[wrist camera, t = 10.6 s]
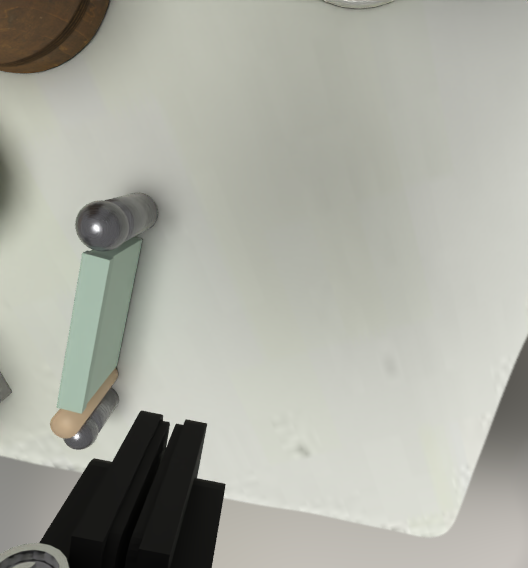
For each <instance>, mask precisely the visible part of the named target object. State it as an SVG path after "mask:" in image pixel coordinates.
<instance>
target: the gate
mask: <svg viewBox="0 0 528 568" xmlns="http://www.w3.org/2000/svg"><path fill="white" fill-rule="evenodd" d="M141 244H142V239H140V238H137V237H133V238H131V239H129V240H127V241H125V242H123V243H122V244H121V245H120V246H119V247H118V248H116V249H113V250H111V251H96V250H91V251H86V252H83V253H82V259H81V265H80V271H79V277H78V282H77V288H76V294H75V300H74V306H73V312H72V318H71V324H70V330H69V336H68V342H67V348H66V354H65V360H64V366H63V372H62V378H61V384H60V390H59V396H58V402H57V408H60V410H59V411H58V412H57V413H56V414H55V415H54V416H53V418H52V419H51V422H50V426H51V429H52V431H53V432H54V433H55V434H56V435H57V436H59V437H61V438H71V437H73V436H75V435H76V434H77V432H78V431H79V430H80V428H81V427H82V426H83V424H84V423H85V421H86V420H87V419H88V417H89V416H90V415H91V413H92V412H93V411H94V409H95V408H96V407H97V405H98V404H99V403H100V401H101V400H102V398H103V397H104V396H105V394H106V393H107V392H108V390H109V389H110V388H111V386H112V385H113V384H114V382H115V381H116V379H117V377H118V372H117V369H116V368H115V367H116V366H117V363H118V358H119V353H120V348H121V343H122V338H123V333H124V328H125V323H126V318H127V313H128V309H129V304H130V299H131V294H132V289H133V284H134V279H135V274H136V269H137V264H138V259H139V254H140V249H141Z"/></svg>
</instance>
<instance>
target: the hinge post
mask: <svg viewBox="0 0 528 568" xmlns="http://www.w3.org/2000/svg"><path fill="white" fill-rule="evenodd" d="M157 217H158V209H157V206H156V204H155V202H154V201H153V200H152V198H150V197H149V196H148V195H145V194H143V193H133V194H129V195H125V196H121V197H117V198H113V199H109V200H105V201H94V202H91V203H89V204H87V205H86V206H84V207H83V208H82V209H81V210H80V212H79V213H78V215H77V218H76V224H75V226H76V232H77V235H78V237H79V239H80V240H81V241H82V242H83V243H84V244H85V245H86V246H87V247H89V248H91V249H93V250H96V251H111V250H113V249H116V248H118V247H119V246H120V245H121V244H122V243H123V242H125V241H127V240H129V239H131V238H133V237H135V236H136V235H138V234H140V233H142V232H144V231H146V230H147V229H149V228H151V227H152V226H153V225H154V224H155V222H156V220H157Z"/></svg>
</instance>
